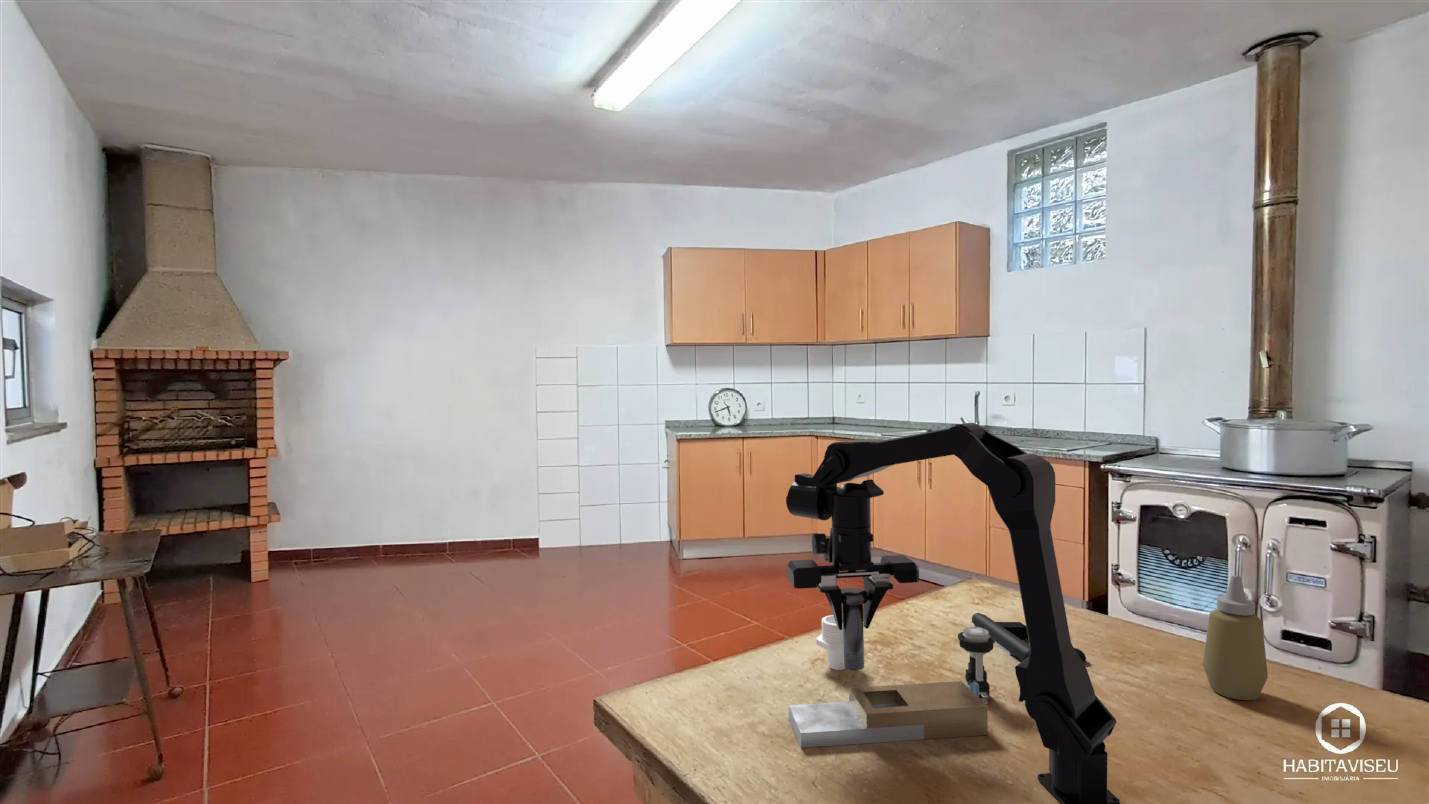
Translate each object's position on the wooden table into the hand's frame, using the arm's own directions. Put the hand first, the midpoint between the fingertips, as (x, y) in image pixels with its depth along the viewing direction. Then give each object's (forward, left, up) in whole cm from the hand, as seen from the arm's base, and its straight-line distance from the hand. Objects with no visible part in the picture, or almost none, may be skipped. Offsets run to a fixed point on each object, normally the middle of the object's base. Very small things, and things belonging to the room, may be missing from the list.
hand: (852, 628), depth 106 cm
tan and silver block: (-7, -2, -12) cm, 14 cm away
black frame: (+19, -39, -12) cm, 45 cm away
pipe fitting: (+14, -1, -12) cm, 19 cm away
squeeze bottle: (-4, -58, -12) cm, 60 cm away
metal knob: (0, 0, -6) cm, 6 cm away
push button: (0, -19, -12) cm, 23 cm away
